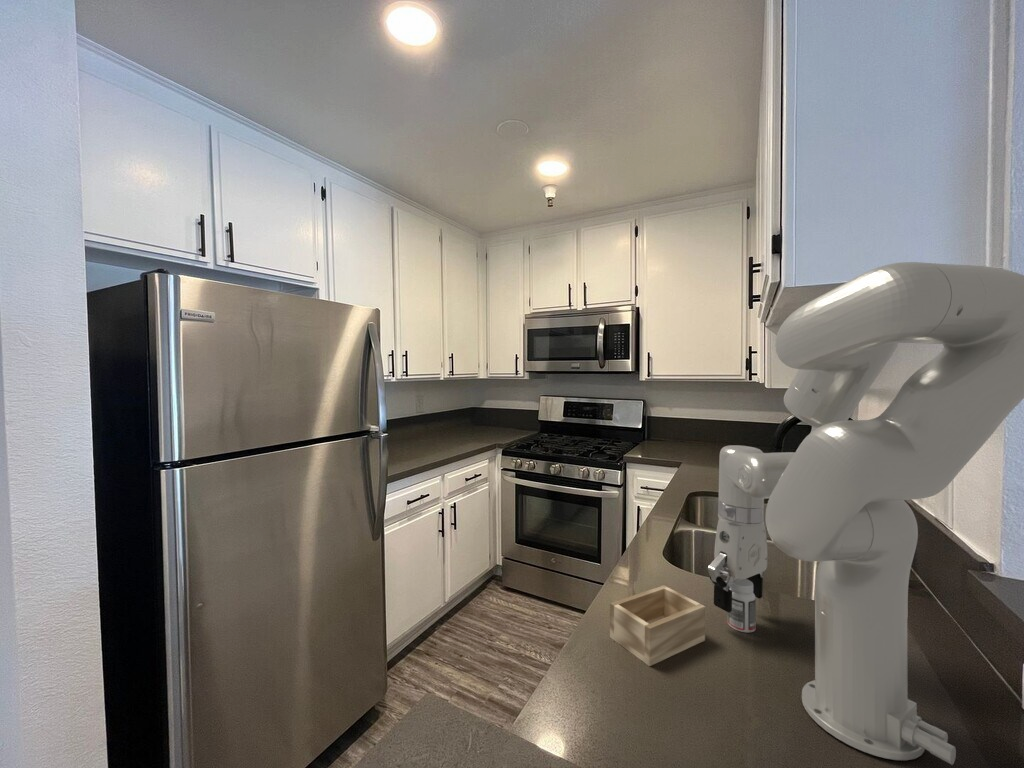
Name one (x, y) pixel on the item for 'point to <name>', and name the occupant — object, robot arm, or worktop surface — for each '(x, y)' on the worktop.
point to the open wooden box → (657, 624)
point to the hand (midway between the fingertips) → (738, 601)
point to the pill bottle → (742, 606)
